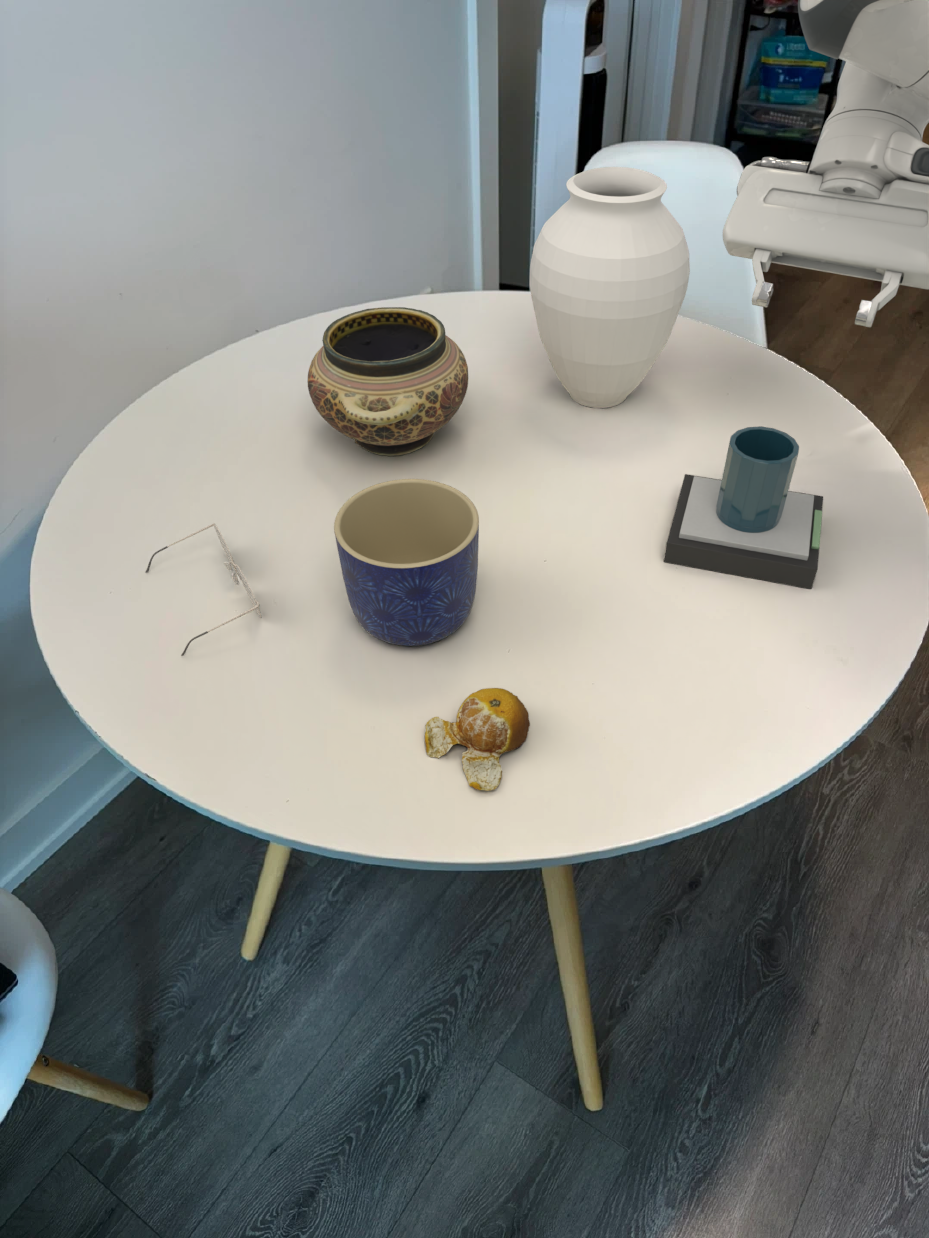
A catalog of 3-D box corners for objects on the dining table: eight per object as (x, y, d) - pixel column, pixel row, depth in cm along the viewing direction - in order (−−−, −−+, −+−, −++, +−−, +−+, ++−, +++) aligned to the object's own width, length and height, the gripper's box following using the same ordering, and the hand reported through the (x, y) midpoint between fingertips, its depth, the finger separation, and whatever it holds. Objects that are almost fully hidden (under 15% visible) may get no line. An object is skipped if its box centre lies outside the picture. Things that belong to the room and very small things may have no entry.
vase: (606, 345, 123) (624, 144, 106) (701, 401, 113) (739, 186, 95) (498, 385, 116) (498, 176, 99) (588, 448, 105) (607, 226, 88)
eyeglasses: (268, 628, 85) (257, 597, 82) (184, 664, 83) (170, 633, 80) (223, 545, 94) (211, 515, 91) (146, 575, 92) (132, 545, 89)
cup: (782, 500, 92) (800, 432, 87) (777, 538, 88) (796, 468, 83) (719, 490, 94) (733, 422, 88) (712, 526, 90) (726, 457, 84)
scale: (817, 515, 96) (824, 491, 94) (811, 589, 87) (819, 564, 85) (681, 493, 99) (685, 469, 97) (663, 562, 91) (667, 537, 89)
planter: (323, 604, 87) (307, 511, 80) (431, 553, 92) (425, 462, 85) (393, 681, 80) (383, 587, 72) (506, 622, 85) (508, 528, 78)
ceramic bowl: (358, 400, 120) (315, 291, 110) (490, 371, 115) (457, 256, 106) (321, 515, 102) (265, 398, 92) (475, 487, 98) (433, 361, 88)
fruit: (411, 741, 75) (409, 712, 73) (482, 686, 79) (482, 657, 77) (485, 800, 71) (484, 771, 68) (555, 739, 75) (558, 709, 72)
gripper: (746, 136, 86) (697, 279, 86) (984, 166, 78) (929, 322, 79) (750, 172, 91) (704, 306, 92) (972, 203, 84) (921, 348, 85)
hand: (810, 314), depth 85 cm, fingers open, 8 cm apart
